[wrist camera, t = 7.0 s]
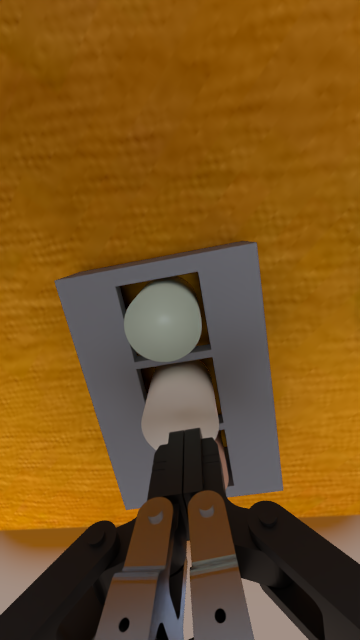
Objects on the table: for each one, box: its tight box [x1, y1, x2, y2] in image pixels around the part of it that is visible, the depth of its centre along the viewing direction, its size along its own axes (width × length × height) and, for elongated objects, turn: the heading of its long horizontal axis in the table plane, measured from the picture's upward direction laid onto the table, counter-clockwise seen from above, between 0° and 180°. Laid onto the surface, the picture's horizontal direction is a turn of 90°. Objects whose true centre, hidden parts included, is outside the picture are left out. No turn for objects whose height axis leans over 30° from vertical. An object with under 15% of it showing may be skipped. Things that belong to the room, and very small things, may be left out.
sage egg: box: [124, 276, 202, 362], centre depth 18 cm, size 4×4×5 cm
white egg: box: [141, 359, 219, 450], centre depth 18 cm, size 4×4×5 cm
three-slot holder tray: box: [55, 241, 283, 510], centre depth 21 cm, size 18×12×4 cm, turn 11°
